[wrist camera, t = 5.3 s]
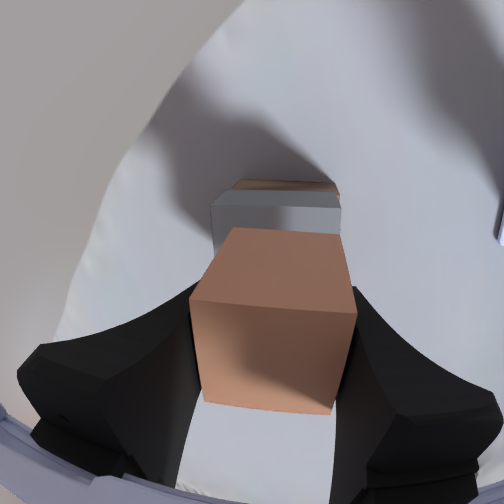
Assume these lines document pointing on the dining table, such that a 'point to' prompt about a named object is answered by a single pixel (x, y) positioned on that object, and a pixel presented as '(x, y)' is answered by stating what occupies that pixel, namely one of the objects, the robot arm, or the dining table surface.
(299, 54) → the dining table surface
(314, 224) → the slate slab
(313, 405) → the tan clay cube
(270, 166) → the dining table surface
